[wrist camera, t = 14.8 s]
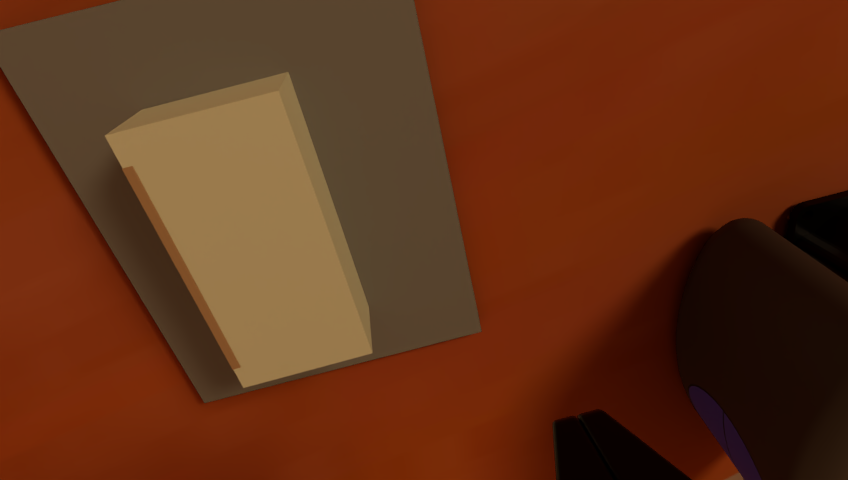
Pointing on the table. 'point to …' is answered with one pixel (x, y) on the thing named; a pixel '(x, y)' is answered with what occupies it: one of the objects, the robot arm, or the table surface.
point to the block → (249, 226)
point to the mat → (328, 127)
